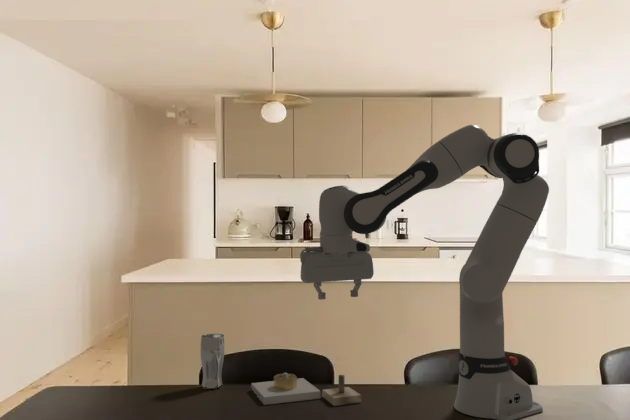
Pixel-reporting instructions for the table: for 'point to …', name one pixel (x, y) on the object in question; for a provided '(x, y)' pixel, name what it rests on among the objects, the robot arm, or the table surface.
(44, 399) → the table surface
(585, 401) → the table surface
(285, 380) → the collar
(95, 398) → the table surface
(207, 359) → the beer glass
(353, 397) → the stand
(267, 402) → the block
